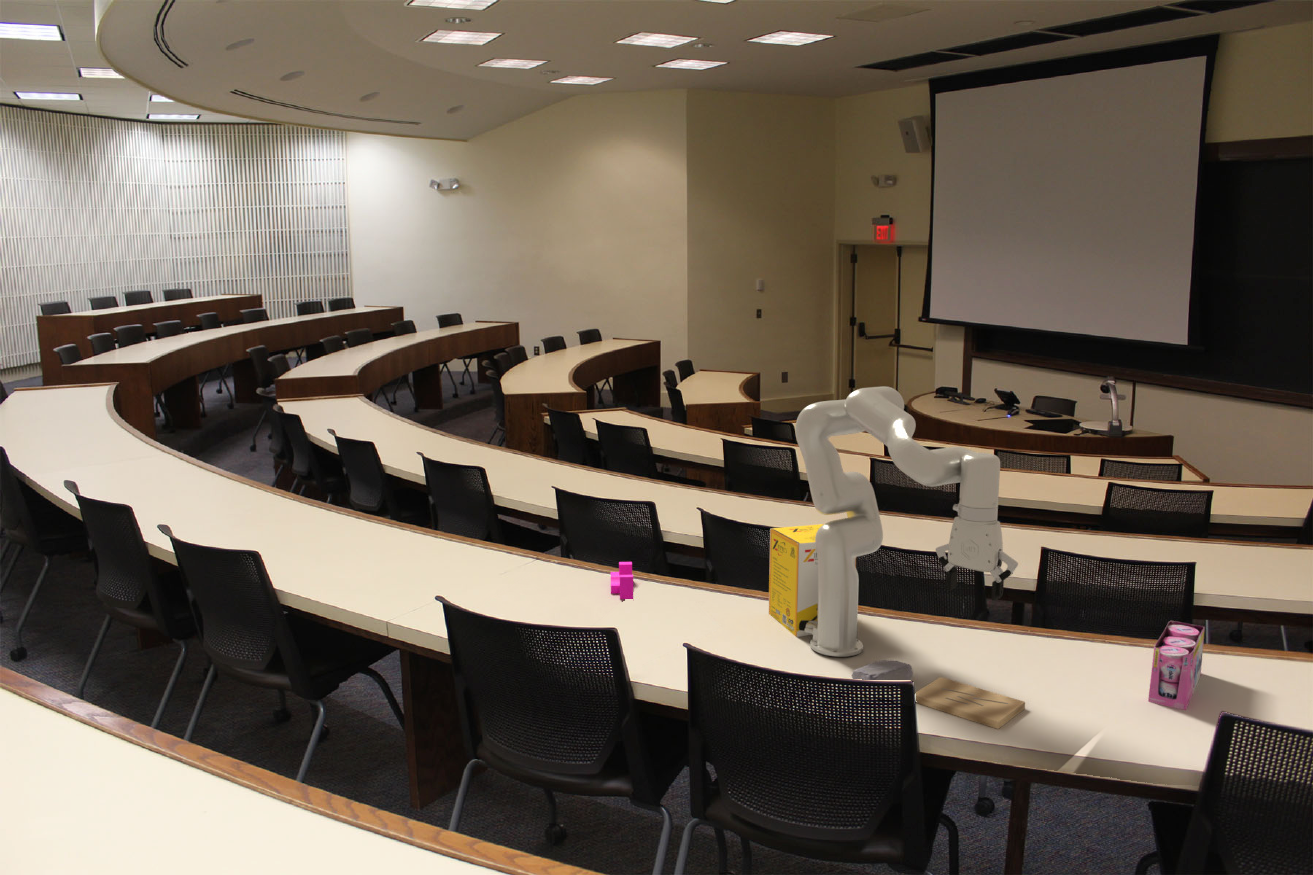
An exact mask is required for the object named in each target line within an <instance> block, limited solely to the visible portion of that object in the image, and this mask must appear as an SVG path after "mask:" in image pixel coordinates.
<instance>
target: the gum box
mask: <svg viewBox="0 0 1313 875" xmlns="http://www.w3.org/2000/svg"><path fill="white" fill-rule="evenodd" d="M1205 628H1206V627H1205V626H1203V625H1198V624H1191V623H1186V622H1181V621H1176V620H1175V621H1174V620H1170V621H1168V622H1167V625H1166V627H1165V628H1164V630H1163V632H1161V635H1160V636H1159V638H1158V640H1157V641H1156V643H1155V644H1154V646H1153V654H1152V662H1151V663H1152V664H1151V673H1150V674H1151V675H1150V683H1149V689H1148V690H1149V691H1148V698H1147V699H1148V701H1147V702H1149V703H1153V704H1158V705H1162V706H1167V707H1170V708H1174V709H1177V710H1181V711H1182V710H1183V711H1186V710H1187V708H1188V705H1189V704H1190V701H1191V699H1192V697H1193V694H1194V692H1195V690H1196V687H1197V685H1198V682H1199V680H1200V677H1201V674H1202V664H1203V652H1204V651H1203V650H1204V639H1205V631H1206V630H1205Z"/></svg>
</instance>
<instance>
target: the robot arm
mask: <svg viewBox="0 0 1313 875" xmlns="http://www.w3.org/2000/svg"><path fill="white" fill-rule="evenodd" d="M904 409H905V400H904V399H903V396H902V395H901V393H900V392H899V391H897V390H896V389H895V388H893V387H890V386H873V387H862V388H861V387H860V388H858V389H856V390H853V391H852V392H850V393H849V394H848V396H847V397H846V399H845V398H844V399H838V400H837V399H836V400H826V401H825V400H824V401H818V402H814V403H811V404H808V405H807V406H805V407H804V408H803V409H802V410H801V411H800V413H799V414H798V416H797V419H796V423H795V427H794V428H795V429H794V431H795V437H796V442H797V445H798V447H799V451H800V452H801V456H802V459H803V462H804V465H805V471H806V476H807V480H808V484H809V490H810V495H811V499H812V502H813V505H814V508H815V510H816V511H817V512H818V513H819V514H821V515H824V516H832V515H840V514H844V513H846V516H847V517H844V518H839V519H834V520H831V521H828V522H826V523H823V524H824V525H822V526H821V527H820V528H819V529H818V531H817V533H816V536H815V546H816V552H817V558H818V613H817V625H816V624H814V623H810V622H808V623H807V624H806V628H805V632H806V633H809V634H811V635H812V638H811V639H810V642H809V646H810V648H811V649H812V650H813V651H815V652H816V653H818V654H821V655H824V656H830V657H839V658H841V657H842V658H843V657H852V656H857V655H859V654H861V653H862V652H863V651H864V643H863V642H862V641H861V640H859V639H858V638H857V636H858V610H859V581H860V580H859V578H860V577H859V573H858V570H857V567H856V568H855V566H854V563H853V558H855V557H856V558H857V557H863V556H866V555H869V554H872V553H875V552H877V551H878V550H879V549H880V548H881V546H882V544H883V541H884V540H883V538H884V533H883V532H884V531H883V525H882V520H881V516H880V511H879V507H878V502H877V498H876V494H875V490H874V487H873V485H872V482H870V480H869V478H867V477H866V476H865V475H864V474H863V473H861V472H858V471H847V472H844V470H843V466H842V461H841V457H840V453H839V452H838V450H837V449H836V447H835V446H834V445H833V443H832V442H831V441H830V440H829V438H831V437H835V436H836V437H839V436H846V435H855V434H859V433H862V432H863V433H864V432H867V433H868V434H870V435H871V436H873V437H874V438H875V439H877V441H879V442H880V443H882V444H884V445H885V446H886V447H887V450H888V453H889V456H890V458H891V460H892V462H893V464H894V465H895V466H896V467H897V468H898V470H900V471H901V472H902V473H903V474H904V475H906V476H908V477H909V478H910V479H912V480H914V481H915V483H916V482H917V483H919V484H921V485H923V486H926V487H933V488H934V487H939V486H943V485H944V486H945V485H949V484H950V485H951V484H958V483H960V484H959V485H960V486H959V502H958V503H957V504H956V503H954V504H953V506H952V510H953V511H956V512H957V516H955V517H954V519H953V522H952V526H951V530H950V536H949V541H948V542H949V543H946V544H944V545H940V546H937V547H936V548H935V553H936V554H937V557H938V562H939V563H940V564H941V565H942V567H943V569H944V571H945V572H946V573H945V585H946V590H947V591H949V592H950V591H952V590H954V589H956V588H957V586H958V575H959V574H958V569H957V567H958V568H964V569H968V570H971V571H972V570H973V571H977V572H984V573H990V575H991V577H993V579H994V580H993V581H992V583H991V599H990V600H992V601H993V602H996V601H997V600H999V599H1001V598H1002V597H1003V595H1004V586H1005V584H1004V582H1005V580H1007V578H1009V577H1010V576H1012V575H1013V574H1014V572H1015V570H1016V569H1017V567H1018V566H1019V563H1018V561H1016V560H1015V559H1014V558H1012V557H1011V556H1009V555H1008V554H1007V553H1005V552H1004V551H1003V550H1004V549H1003V548H1004V547H1003V546H1004V545H1003V533H1002V526H1001V521H999V520H998V511H999V510H998V509H999V492H1000V491H999V490H1000V476H1001V475H1000V474H1001V473H1000V472H1001V460H1000V458H999V456H997V455H995V454H993V453H989V452H988V453H987V452H976V451H973V450H971V449H968V448H966V447H962V446H951V447H945V448H936V449H929V448H927V447H925V446H923V445H921V444H920V443H918V442H917V441H915V439H914V438H913V435H914V433H915V431H916V425H917V424H916V420H915V418H914V417H913V416H912V414H909V413H908V412H906V411H905V410H904ZM946 551H947V555H946ZM1003 563H1004V564H1006V565H1007V566H1006V569H1005V570H1003V569H1002V565H1003Z"/></svg>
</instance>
